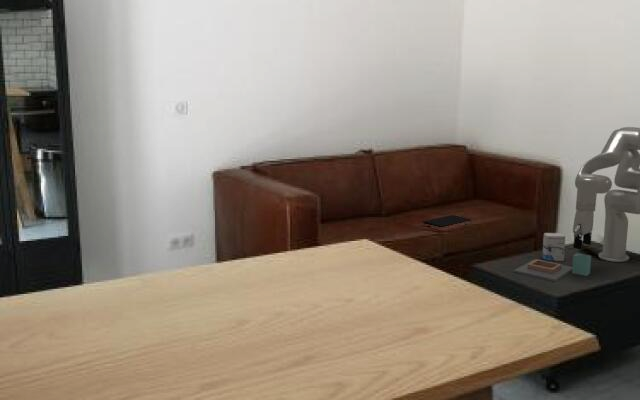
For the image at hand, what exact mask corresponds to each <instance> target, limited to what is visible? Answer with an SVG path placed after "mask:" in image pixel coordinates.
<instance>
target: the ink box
mask: <svg viewBox="0 0 640 400" xmlns="http://www.w3.org/2000/svg"><path fill="white" fill-rule="evenodd" d="M542 241H543V242H542V255H541V256H542V259H543V261H548V262H553V261H555V262H556V261H557V262H559V261H560V262H564V261H565V250H566V249H565V248H566V236H565V234H563V233H561V232H560V233H559V232H544V233H543V240H542Z"/></svg>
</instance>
